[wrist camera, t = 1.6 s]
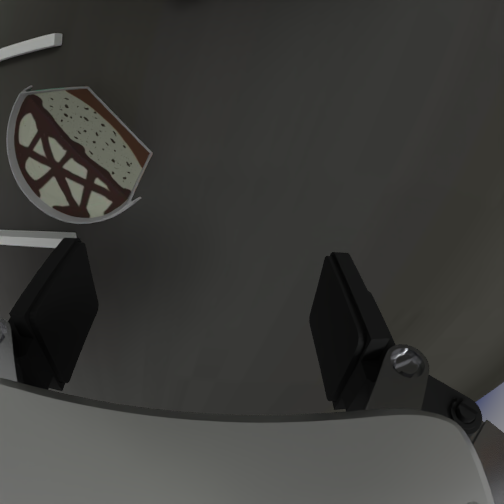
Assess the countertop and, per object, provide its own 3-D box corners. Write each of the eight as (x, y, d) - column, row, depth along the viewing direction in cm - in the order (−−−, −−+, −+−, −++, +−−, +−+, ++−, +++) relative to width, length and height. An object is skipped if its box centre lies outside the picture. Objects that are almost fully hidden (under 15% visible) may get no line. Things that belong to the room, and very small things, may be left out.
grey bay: (62, 33, 20) (54, 33, 19) (77, 241, 32) (72, 249, 31) (-39, 66, 19) (-47, 67, 18) (-15, 237, 31) (-20, 243, 30)
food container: (42, 123, 25) (-21, 153, 16) (78, 76, 23) (15, 88, 15) (122, 204, 30) (84, 260, 22) (163, 164, 28) (133, 210, 20)
